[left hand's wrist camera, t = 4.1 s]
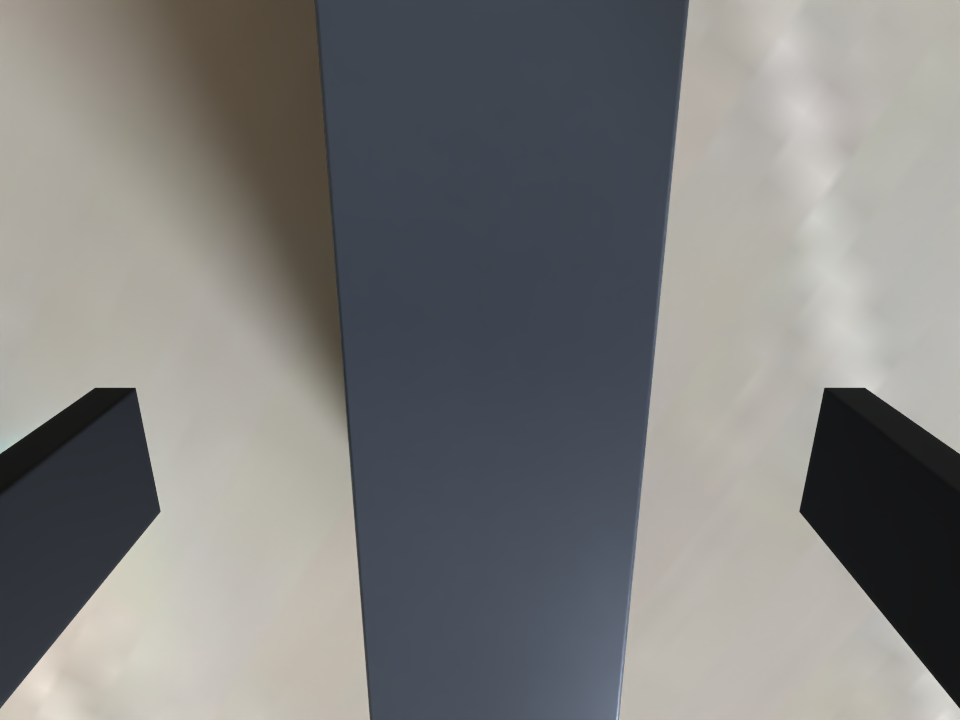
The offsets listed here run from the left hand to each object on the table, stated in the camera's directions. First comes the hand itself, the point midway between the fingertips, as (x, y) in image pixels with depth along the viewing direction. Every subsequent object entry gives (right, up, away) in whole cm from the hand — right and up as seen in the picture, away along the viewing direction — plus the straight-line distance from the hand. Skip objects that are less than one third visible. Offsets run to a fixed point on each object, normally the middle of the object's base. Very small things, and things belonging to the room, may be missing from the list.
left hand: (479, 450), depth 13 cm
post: (0, +22, -2) cm, 22 cm away
